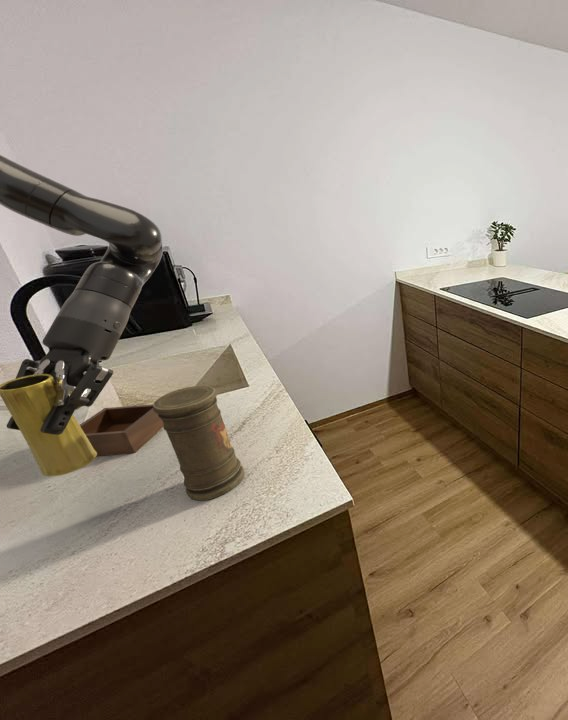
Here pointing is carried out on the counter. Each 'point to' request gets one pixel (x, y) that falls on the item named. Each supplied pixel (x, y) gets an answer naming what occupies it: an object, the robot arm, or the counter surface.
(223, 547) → the counter surface
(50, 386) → the vase
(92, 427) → the tray
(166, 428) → the container
